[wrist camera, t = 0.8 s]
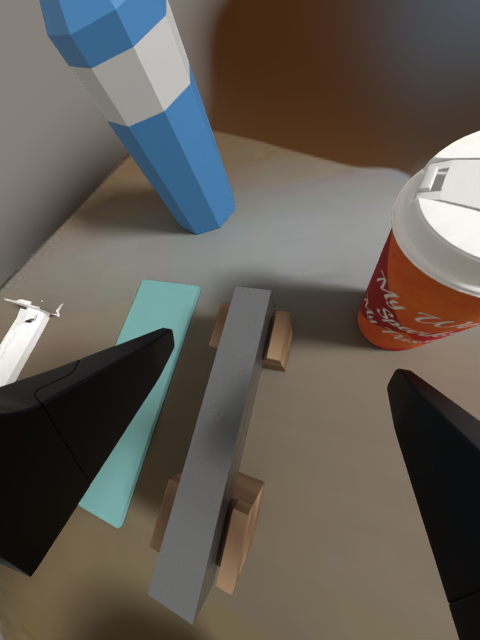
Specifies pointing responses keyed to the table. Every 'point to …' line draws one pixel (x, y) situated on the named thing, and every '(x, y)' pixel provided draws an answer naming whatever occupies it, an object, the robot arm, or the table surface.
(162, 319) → the mat
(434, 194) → the coffee cup
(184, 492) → the rail
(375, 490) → the table surface
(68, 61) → the water bottle
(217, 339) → the stand
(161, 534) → the stand
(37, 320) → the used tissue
